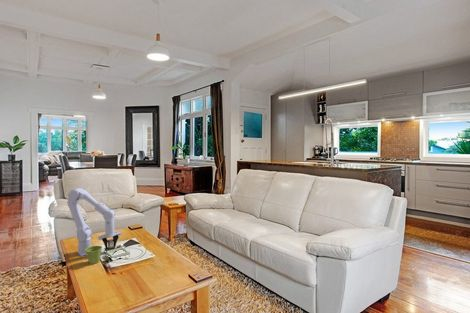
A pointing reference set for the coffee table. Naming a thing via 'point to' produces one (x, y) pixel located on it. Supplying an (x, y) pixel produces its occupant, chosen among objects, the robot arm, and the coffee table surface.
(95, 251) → the plant pot
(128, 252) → the tray
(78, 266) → the coffee table surface
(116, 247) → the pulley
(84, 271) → the coffee table surface
